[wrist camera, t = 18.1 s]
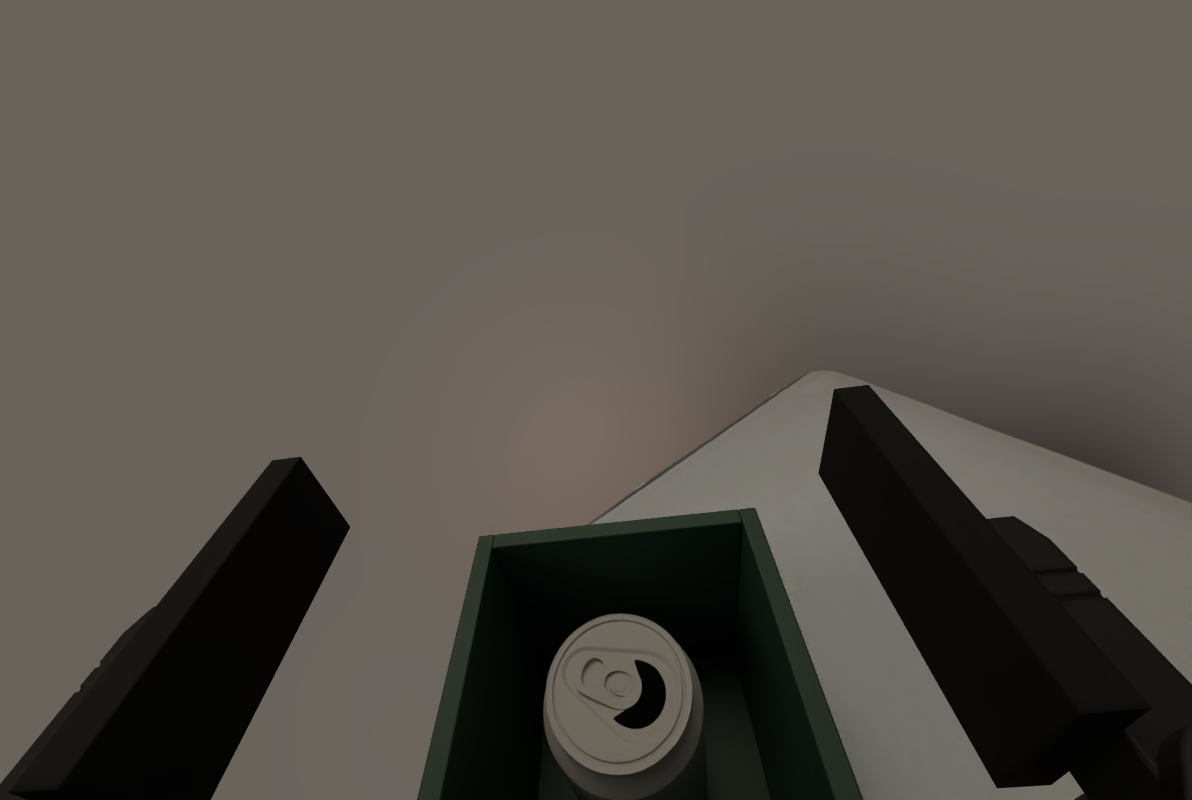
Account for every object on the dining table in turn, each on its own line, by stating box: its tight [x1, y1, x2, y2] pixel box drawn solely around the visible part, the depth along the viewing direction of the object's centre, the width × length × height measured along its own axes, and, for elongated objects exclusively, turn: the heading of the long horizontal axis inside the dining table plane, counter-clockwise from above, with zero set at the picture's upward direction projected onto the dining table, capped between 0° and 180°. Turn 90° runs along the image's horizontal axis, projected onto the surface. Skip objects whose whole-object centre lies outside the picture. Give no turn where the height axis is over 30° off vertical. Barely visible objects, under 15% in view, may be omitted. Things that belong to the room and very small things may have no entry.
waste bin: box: [417, 508, 863, 800], centre depth 21 cm, size 14×14×14 cm
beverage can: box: [543, 614, 707, 800], centre depth 21 cm, size 6×6×12 cm
